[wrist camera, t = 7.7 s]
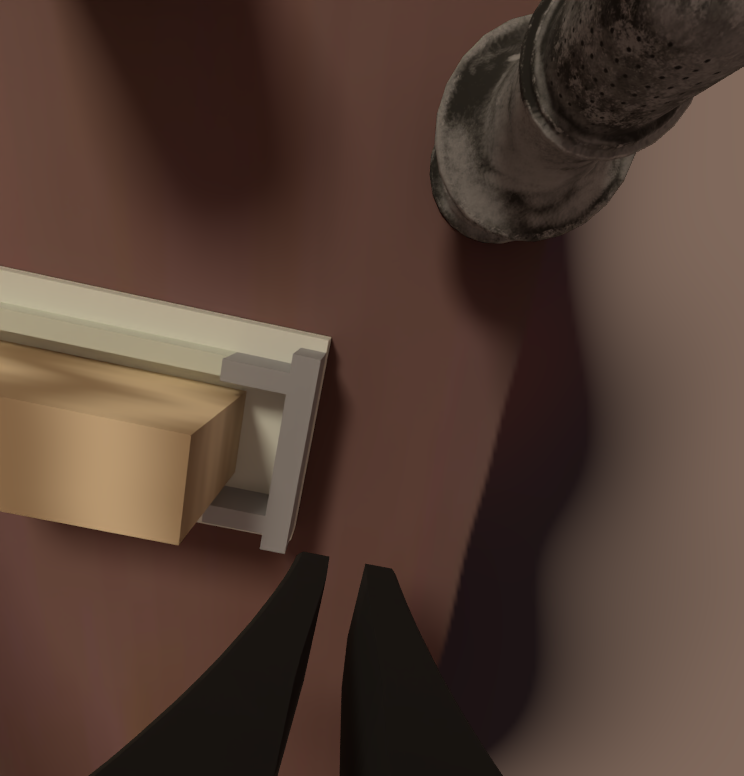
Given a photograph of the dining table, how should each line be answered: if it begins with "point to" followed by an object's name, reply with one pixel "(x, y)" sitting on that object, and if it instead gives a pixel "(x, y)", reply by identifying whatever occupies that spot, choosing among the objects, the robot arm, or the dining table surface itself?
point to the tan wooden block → (112, 443)
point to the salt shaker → (570, 108)
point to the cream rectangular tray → (196, 362)
